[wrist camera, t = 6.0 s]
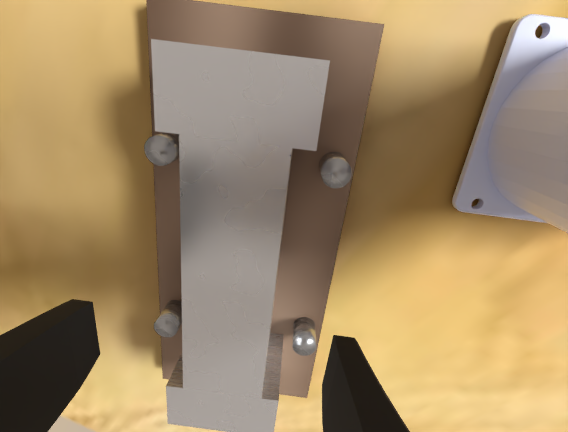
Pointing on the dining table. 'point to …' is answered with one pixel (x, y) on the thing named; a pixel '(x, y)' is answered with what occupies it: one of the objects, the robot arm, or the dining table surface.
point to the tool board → (303, 174)
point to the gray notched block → (232, 219)
